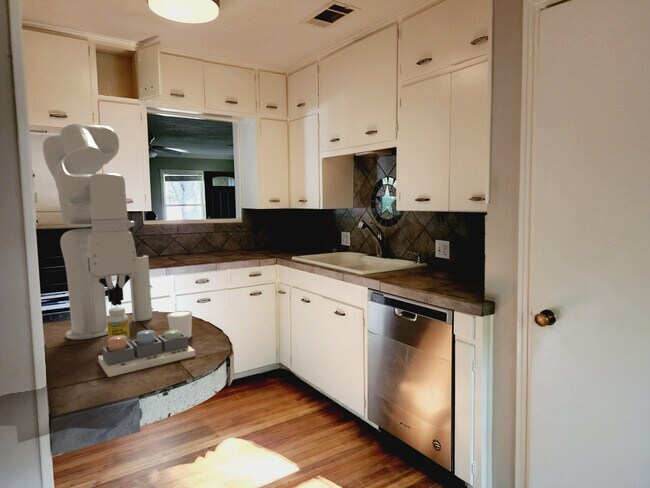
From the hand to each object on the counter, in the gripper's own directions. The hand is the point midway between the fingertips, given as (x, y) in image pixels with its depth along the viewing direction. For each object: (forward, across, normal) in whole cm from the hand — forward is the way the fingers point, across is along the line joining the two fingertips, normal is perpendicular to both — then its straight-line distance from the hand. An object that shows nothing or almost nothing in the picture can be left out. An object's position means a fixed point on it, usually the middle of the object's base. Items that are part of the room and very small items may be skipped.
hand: (116, 304), depth 102 cm
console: (+15, -6, 0) cm, 16 cm away
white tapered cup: (+15, -19, -12) cm, 27 cm away
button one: (+12, 0, 0) cm, 12 cm away
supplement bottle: (+15, -4, -19) cm, 25 cm away
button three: (+13, -13, 0) cm, 18 cm away
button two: (+12, -6, 0) cm, 13 cm away
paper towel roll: (+15, -15, -40) cm, 45 cm away
